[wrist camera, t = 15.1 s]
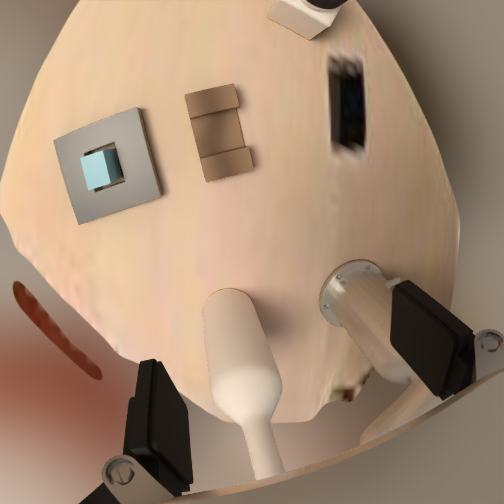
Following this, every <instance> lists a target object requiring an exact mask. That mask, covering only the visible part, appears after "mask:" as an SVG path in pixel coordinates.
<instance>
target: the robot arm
mask: <svg viewBox="0 0 504 504" xmlns="http://www.w3.org/2000/svg"><path fill="white" fill-rule="evenodd" d="M392 286H395V288H394V289H392V290H390V287H392ZM319 303H320V309H321V312H322V314H323V316H324V317H325V318H326V320H327V321H328V322H330V323H331V324H333V325H335V326H339V327H344V328H345V330H346V331H347V332H348V334H349V335H350V336H351V338H352V339H353V340H354V342H355V343H356V344H357V346H358V347H359V348H360V350H361V351H362V352H363V354H364V355H365V356H366V358H367V359H368V360H369V362H370V363H371V364H372V366H373V367H374V368H375V370H376V371H377V372H378V374H379V375H380V376H381V377H383V378H384V379H385V380H387V381H389V382H392V383H395V384H402V385H410V386H409V387H408V389H407V390H406V391H405V392H404V393H403V394H402V395H401V396H400V397H399V398H398V399H397V400H396V401H395V402H394V403H393V404H392V405H391V406H390V407H389V408H388V409H387V410H386V411H384V412H383V413H382V414H381V415H380V416H379V417H378V418H377V419H376V420H375V421H373V422H372V423H371V424H370V425H369V426H368V427H367V428H366V429H365V431H364V432H363V434H362V435H361V438H360V446H358V447H356V448H353V449H351V450H348V451H346V452H344V453H341V454H338V455H336V456H333V457H331V458H328V459H326V460H322V461H320V462H317V463H314V464H311V465H308V466H305V467H302V468H299V469H296V470H292V471H289V472H286V473H282V474H279V475H275V476H272V477H268V478H264V479H260V480H256V481H252V482H247V483H243V484H239V485H234V486H230V487H225V488H220V489H214V490H209V491H204V492H198V493H193V494H188V495H182V492H187V491H190V485H189V484H192V483H193V471H192V460H191V448H190V435H189V420H188V410H187V407H186V404H185V403H184V401H183V399H182V398H181V396H180V394H179V392H178V391H177V389H176V387H175V385H174V384H173V382H172V380H171V378H170V377H169V375H168V373H167V371H166V369H165V367H164V366H163V364H162V362H161V361H158V362H157V361H156V360H155V359H150V360H145V361H141V362H140V364H139V370H138V378H137V384H136V392H135V397H131V398H130V400H129V406H128V414H127V421H126V430H125V439H124V448H123V455H118V456H114V457H112V458H111V459H109V460H108V461H107V462H106V463H105V465H104V467H103V469H102V480H103V483H102V484H101V485H100V486H99V487H98V488H96V489H95V490H94V491H93V492H92V493H91V494H90V495H88V496H87V497H86V498H85V499H84V500H83V501H81V502H80V503H79V504H504V336H503V335H502V334H501V333H500V332H498V331H495V330H491V329H486V330H482V331H480V332H479V333H477V334H476V336H475V335H474V334H473V330H471V329H470V328H469V327H468V326H467V325H465V324H464V323H463V322H462V321H461V320H459V319H458V318H457V317H455V316H454V315H453V314H452V313H451V312H450V311H448V310H447V309H446V308H445V307H443V306H442V305H441V304H440V303H438V302H437V301H436V300H434V299H433V298H432V297H431V296H429V295H428V294H427V293H426V292H424V291H423V290H422V289H420V288H419V287H418V286H416V285H415V284H414V283H413V282H411V281H410V280H406V281H403V282H401V280H400V278H399V277H398V276H397V277H395V278H392V279H391V280H387V279H385V278H384V276H383V273H382V272H381V270H380V269H379V268H378V267H377V266H376V265H374V264H373V263H371V262H369V261H366V260H356V261H352V262H348V263H346V264H344V265H342V266H341V267H339V268H338V269H337V270H335V271H334V272H333V273H332V274H331V275H330V276H329V278H328V279H327V281H326V282H325V284H324V286H323V288H322V291H321V294H320V300H319Z"/></svg>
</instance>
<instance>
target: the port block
mask: <svg viewBox="0 0 504 504" xmlns="http://www.w3.org/2000/svg"><path fill="white" fill-rule="evenodd" d="M112 143H115V146H116V150H117V153H118V157H119V161H120V164H121V168H122V171H123V175H124V178H125V181H123V182H120V183H117V184H114V185H111V186H108V187H106V188H103V189H100V187H98V188H95V189H91V190H88V188H87V184H86V180H85V176H84V172H83V168H82V164H81V160H80V158H82V157H85V156H88V155H90V152H91V151H94V150H96V149H99V148H102V147H104V146H107V145H110V144H112ZM54 145H55V149H56V153H57V156H58V160H59V164H60V168H61V171H62V175H63V178H64V181H65V185H66V188H67V191H68V194H69V198H70V201H71V204H72V207H73V210H74V213H75V216H76V218H77V221H78V224H79V225H80V224H83V223H86V222H88V221H91V220H94V219H97V218H100V217H103V216H106V215H108V214H111V213H114V212H117V211H120V210H123V209H126V208H129V207H132V206H136V205H139V204H142V203H145V202H148V201H151V200H155V199H158V198H161V196H162V194H163V193H162V190H161V187H160V183H159V180H158V176H157V172H156V169H155V165H154V161H153V158H152V154H151V150H150V146H149V143H148V139H147V135H146V131H145V127H144V123H143V119H142V115H141V110H140V108H138V107H135V108H132V109H129V110H126V111H124V112H121V113H118V114H115V115H113V116H110V117H107V118H105V119H102V120H99V121H97V122H94V123H92V124H89V125H87V126H85V127H82V128H80V129H77V130H75V131H73V132H71V133H68V134H66V135H64V136H62V137H59V138H57V139H55V140H54Z"/></svg>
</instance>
